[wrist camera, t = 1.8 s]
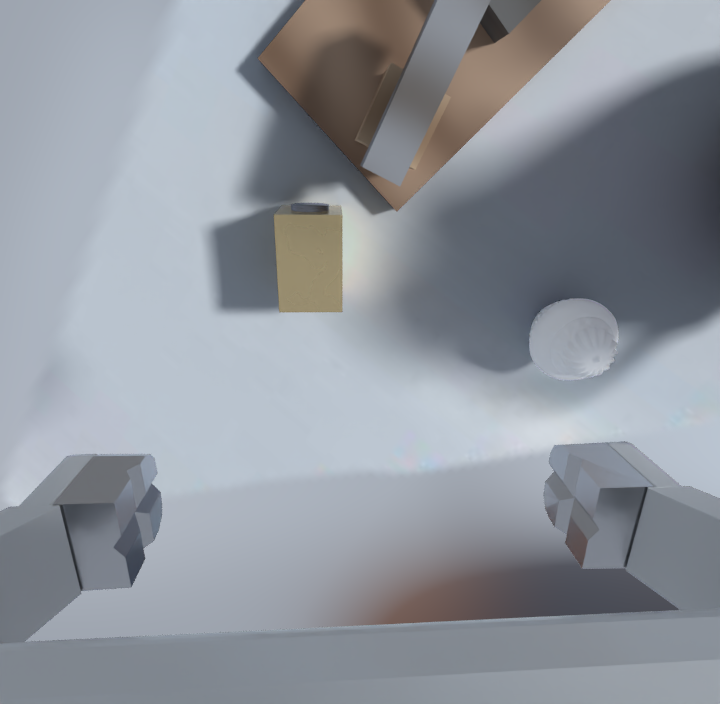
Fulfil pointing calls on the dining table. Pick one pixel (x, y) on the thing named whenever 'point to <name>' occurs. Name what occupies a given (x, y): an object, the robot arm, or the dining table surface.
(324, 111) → the shaft stand
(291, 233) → the tan rectangular block
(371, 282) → the dining table surface
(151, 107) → the dining table surface
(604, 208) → the dining table surface
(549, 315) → the white rounded piece
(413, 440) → the dining table surface
